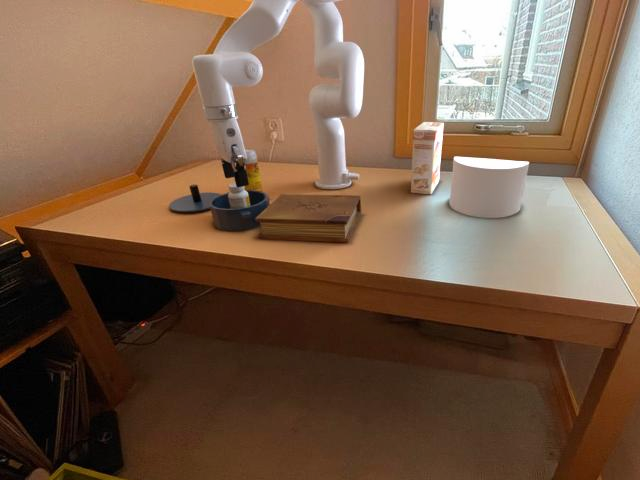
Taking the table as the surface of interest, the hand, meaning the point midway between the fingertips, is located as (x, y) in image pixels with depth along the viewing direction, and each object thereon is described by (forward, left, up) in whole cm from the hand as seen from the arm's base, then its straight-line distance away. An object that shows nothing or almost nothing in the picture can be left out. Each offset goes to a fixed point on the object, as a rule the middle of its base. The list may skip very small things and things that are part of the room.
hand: (236, 181), depth 99 cm
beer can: (+3, -18, -11) cm, 21 cm away
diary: (-21, +4, -11) cm, 24 cm away
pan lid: (+19, -12, -10) cm, 25 cm away
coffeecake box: (-53, -29, -11) cm, 61 cm away
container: (-69, -12, -11) cm, 71 cm away
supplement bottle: (0, 0, -11) cm, 11 cm away
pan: (0, 0, -11) cm, 11 cm away
